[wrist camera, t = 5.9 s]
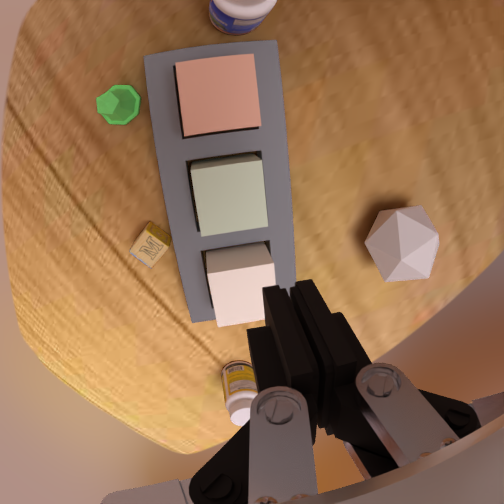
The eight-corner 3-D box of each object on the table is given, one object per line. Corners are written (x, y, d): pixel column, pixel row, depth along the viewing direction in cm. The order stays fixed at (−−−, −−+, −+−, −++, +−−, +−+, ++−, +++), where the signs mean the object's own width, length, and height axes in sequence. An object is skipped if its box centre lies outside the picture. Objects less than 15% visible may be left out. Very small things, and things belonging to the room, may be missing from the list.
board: (148, 61, 26) (143, 56, 23) (270, 46, 27) (276, 40, 25) (192, 308, 38) (192, 323, 35) (290, 291, 39) (297, 305, 36)
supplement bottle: (242, 386, 45) (250, 431, 37) (214, 376, 43) (219, 422, 36) (261, 366, 44) (273, 411, 36) (233, 355, 42) (241, 402, 34)
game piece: (96, 93, 26) (75, 90, 21) (136, 78, 27) (122, 70, 21) (107, 131, 28) (87, 136, 23) (146, 117, 29) (134, 118, 23)
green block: (192, 161, 30) (190, 170, 26) (252, 153, 31) (261, 160, 26) (201, 218, 33) (201, 236, 28) (258, 210, 34) (268, 226, 29)
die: (339, 240, 38) (384, 310, 34) (375, 187, 31) (434, 264, 27) (382, 228, 42) (423, 287, 37) (417, 182, 35) (468, 246, 30)
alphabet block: (133, 241, 34) (128, 252, 31) (149, 219, 33) (145, 229, 30) (155, 257, 35) (152, 269, 32) (172, 236, 34) (170, 247, 31)
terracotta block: (179, 71, 25) (175, 62, 21) (244, 63, 26) (253, 53, 21) (187, 132, 28) (184, 136, 23) (251, 124, 28) (261, 125, 24)
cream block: (205, 250, 33) (207, 273, 28) (263, 241, 34) (274, 263, 29) (215, 299, 36) (218, 327, 31) (268, 290, 36) (278, 316, 32)
